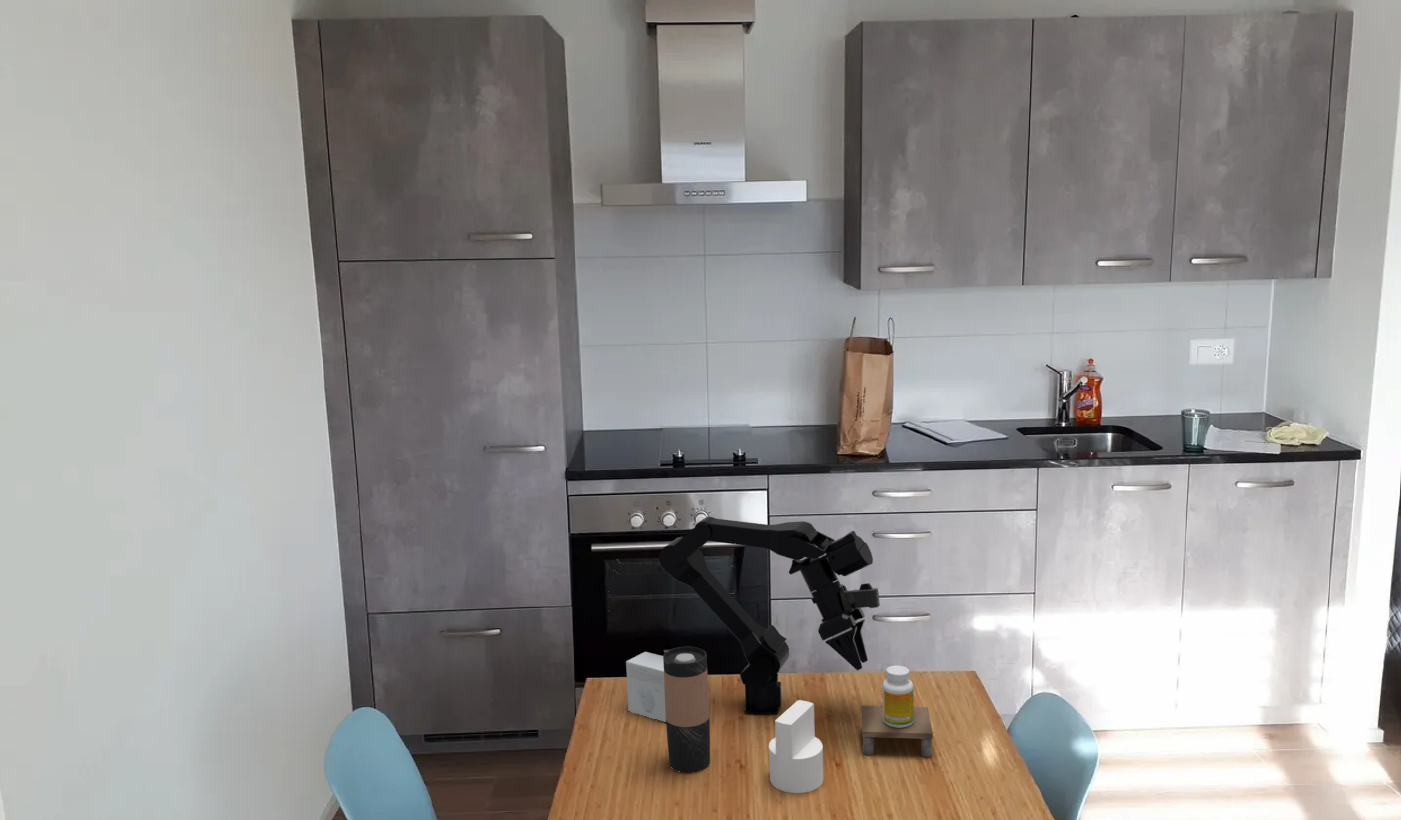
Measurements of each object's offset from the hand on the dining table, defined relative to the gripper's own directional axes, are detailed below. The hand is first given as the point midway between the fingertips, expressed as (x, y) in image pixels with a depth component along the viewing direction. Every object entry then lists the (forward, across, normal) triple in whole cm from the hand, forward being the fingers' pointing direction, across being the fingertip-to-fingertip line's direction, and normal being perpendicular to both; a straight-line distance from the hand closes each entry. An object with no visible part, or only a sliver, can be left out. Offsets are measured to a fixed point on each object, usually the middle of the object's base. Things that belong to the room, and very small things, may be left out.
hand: (862, 665), depth 184 cm
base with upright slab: (+11, -15, +16) cm, 25 cm away
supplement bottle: (+11, -2, -2) cm, 12 cm away
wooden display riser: (+14, 0, +1) cm, 15 cm away
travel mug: (+2, -14, +33) cm, 36 cm away
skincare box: (-7, +4, +41) cm, 42 cm away
